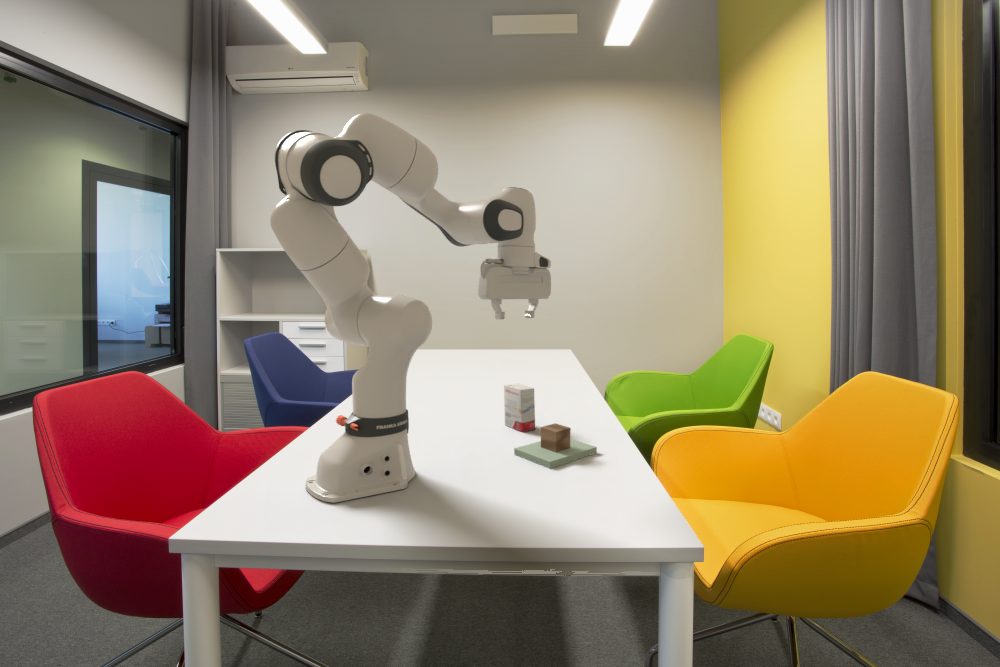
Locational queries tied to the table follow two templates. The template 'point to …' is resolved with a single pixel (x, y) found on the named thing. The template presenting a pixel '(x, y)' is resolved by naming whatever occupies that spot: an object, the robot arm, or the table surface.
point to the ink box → (519, 407)
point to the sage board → (554, 453)
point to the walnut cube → (555, 437)
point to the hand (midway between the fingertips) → (515, 318)
